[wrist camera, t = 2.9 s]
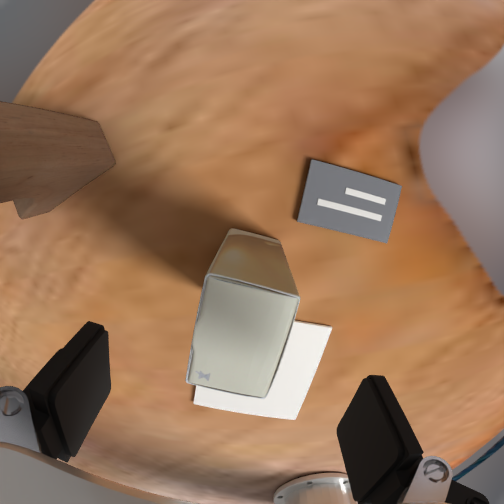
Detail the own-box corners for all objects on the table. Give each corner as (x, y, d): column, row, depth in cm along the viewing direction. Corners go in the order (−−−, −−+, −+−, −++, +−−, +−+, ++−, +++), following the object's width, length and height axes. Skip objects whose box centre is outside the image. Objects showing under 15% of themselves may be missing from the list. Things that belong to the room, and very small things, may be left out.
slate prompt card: (399, 185, 23) (402, 186, 23) (385, 242, 25) (387, 243, 24) (310, 159, 23) (311, 159, 23) (296, 220, 24) (297, 221, 24)
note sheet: (331, 326, 27) (332, 327, 26) (294, 418, 30) (295, 419, 29) (209, 303, 26) (209, 305, 26) (194, 401, 29) (193, 403, 29)
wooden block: (48, 213, 24) (-107, 269, 7) (33, 173, 23) (-122, 200, 6) (118, 163, 23) (-67, 176, 6) (99, 120, 22) (-76, 88, 5)
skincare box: (262, 307, 26) (265, 406, 14) (213, 296, 26) (182, 388, 14) (282, 236, 25) (305, 296, 13) (229, 223, 24) (204, 272, 13)
